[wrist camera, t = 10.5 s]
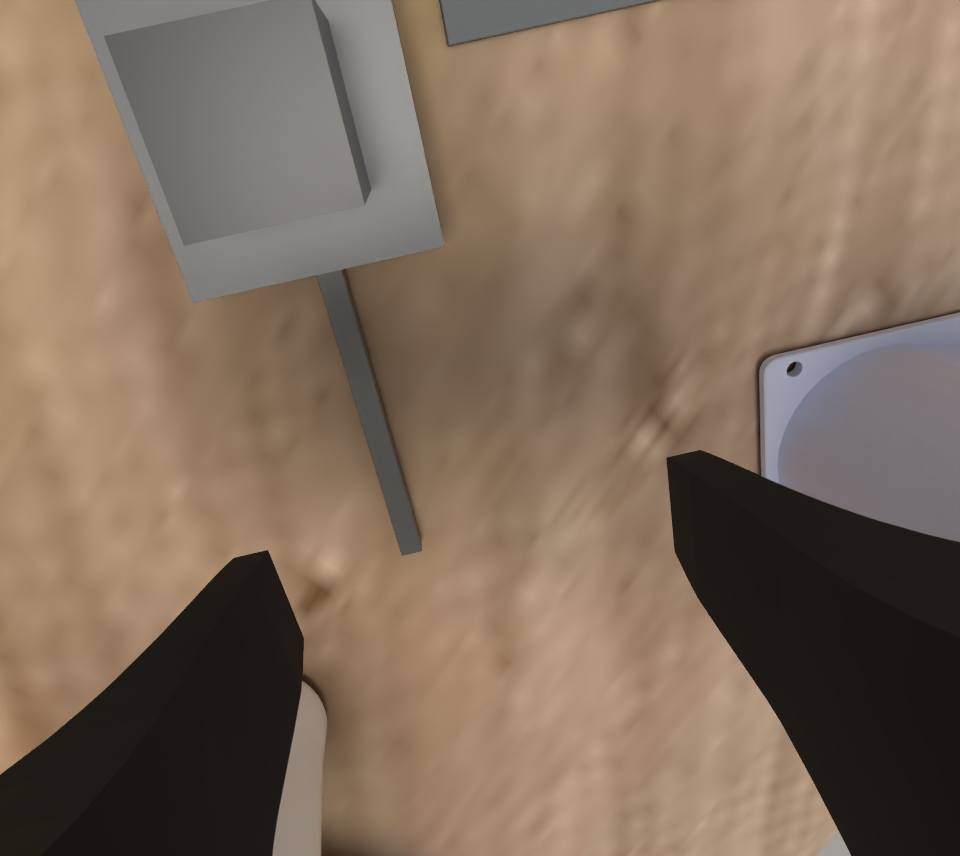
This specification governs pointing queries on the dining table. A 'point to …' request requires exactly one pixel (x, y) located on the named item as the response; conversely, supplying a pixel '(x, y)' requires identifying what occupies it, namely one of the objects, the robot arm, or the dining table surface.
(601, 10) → the felt mat
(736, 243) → the dining table surface
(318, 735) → the drinking glass
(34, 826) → the robot arm
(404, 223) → the power strip
